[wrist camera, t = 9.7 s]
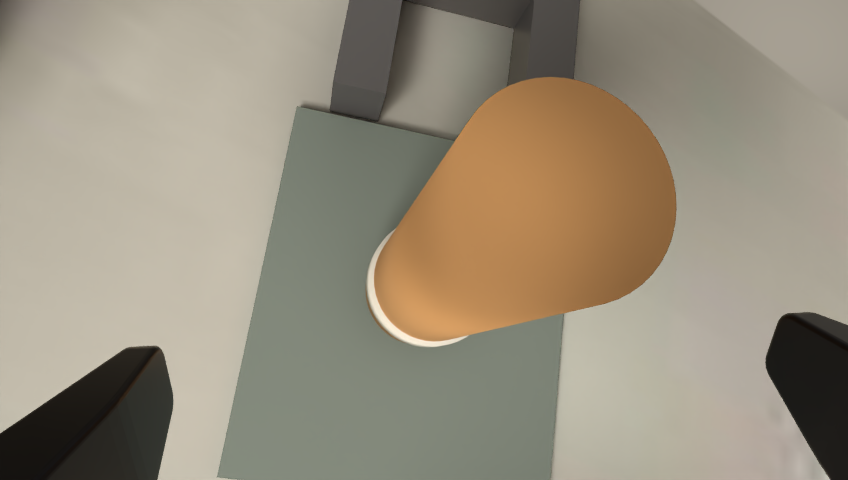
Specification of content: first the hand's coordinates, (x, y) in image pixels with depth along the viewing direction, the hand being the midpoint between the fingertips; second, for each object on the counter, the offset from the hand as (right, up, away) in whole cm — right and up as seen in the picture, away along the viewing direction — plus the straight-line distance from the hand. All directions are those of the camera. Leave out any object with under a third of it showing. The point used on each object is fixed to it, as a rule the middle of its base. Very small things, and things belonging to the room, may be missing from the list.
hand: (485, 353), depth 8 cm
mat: (-1, -1, +14) cm, 14 cm away
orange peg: (-1, 0, +14) cm, 14 cm away
